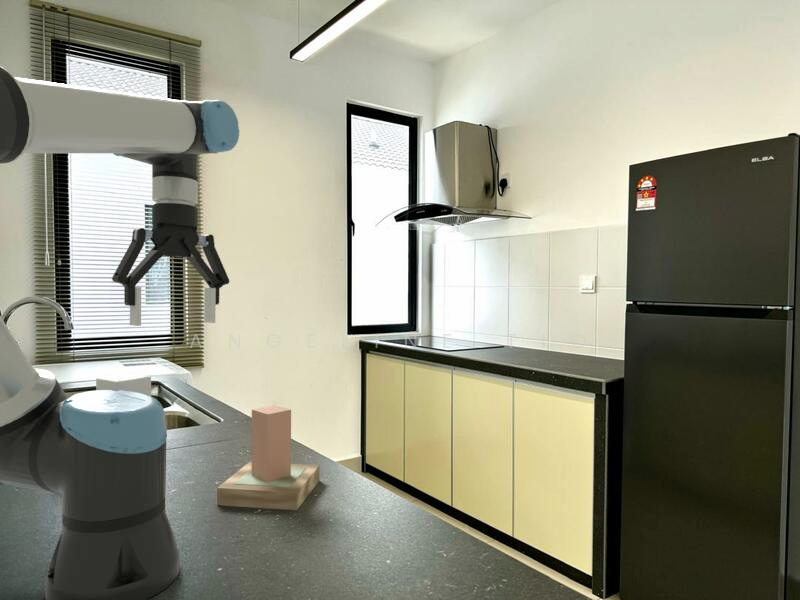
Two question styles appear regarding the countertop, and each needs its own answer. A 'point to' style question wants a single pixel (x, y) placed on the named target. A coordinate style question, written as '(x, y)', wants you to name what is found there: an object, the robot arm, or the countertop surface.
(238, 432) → the countertop surface
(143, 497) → the robot arm
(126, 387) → the supplement box
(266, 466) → the tall block
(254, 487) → the oak picture frame
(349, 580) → the countertop surface
